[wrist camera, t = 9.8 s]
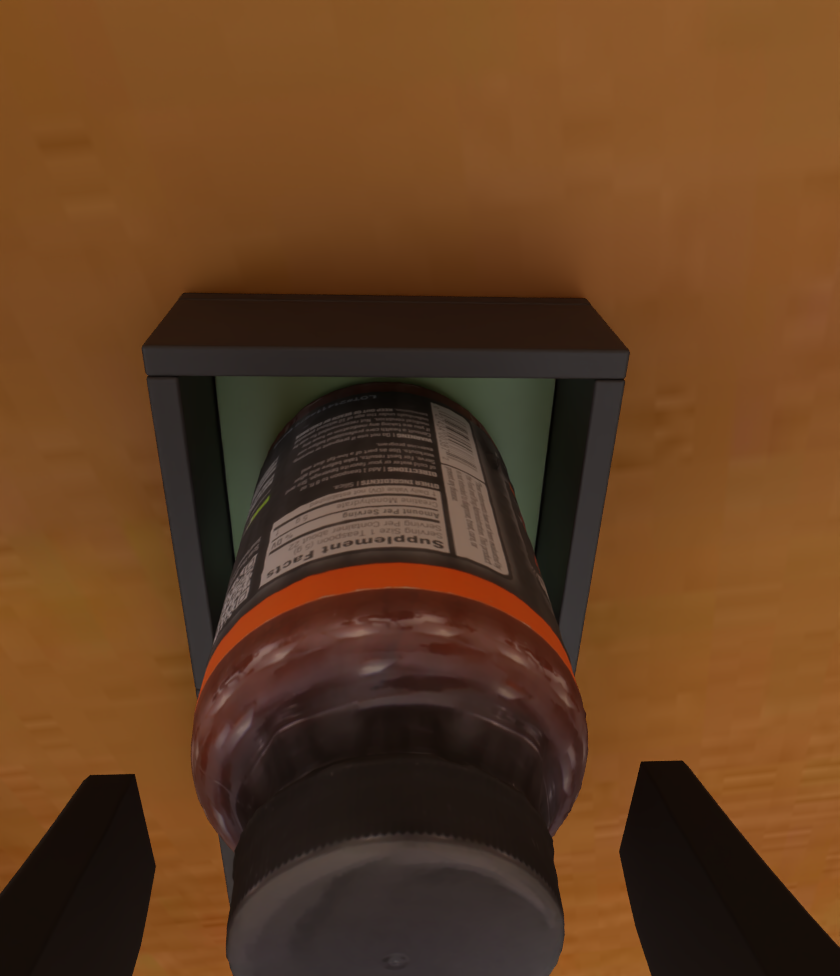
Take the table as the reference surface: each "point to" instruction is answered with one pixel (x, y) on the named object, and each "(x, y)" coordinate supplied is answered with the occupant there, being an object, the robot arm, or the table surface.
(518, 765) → the supplement bottle
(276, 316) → the box
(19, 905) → the robot arm
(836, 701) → the table surface
